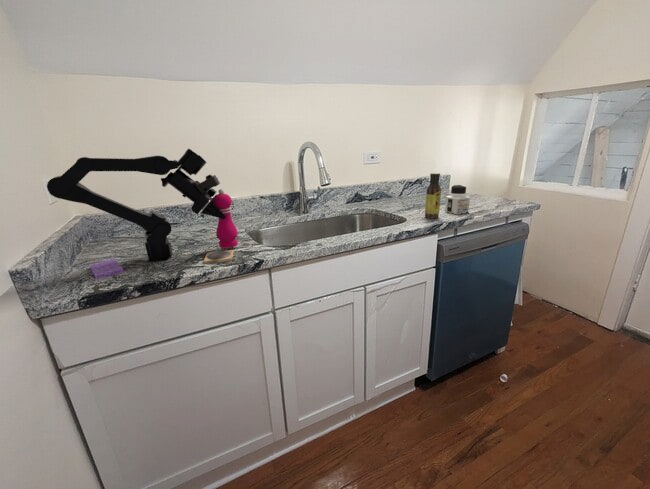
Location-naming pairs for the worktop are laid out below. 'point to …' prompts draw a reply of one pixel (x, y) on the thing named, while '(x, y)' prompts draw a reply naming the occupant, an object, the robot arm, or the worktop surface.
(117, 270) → the sponges
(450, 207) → the container
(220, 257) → the dock
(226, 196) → the pepper mill
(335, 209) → the worktop surface
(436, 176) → the sauce bottle
